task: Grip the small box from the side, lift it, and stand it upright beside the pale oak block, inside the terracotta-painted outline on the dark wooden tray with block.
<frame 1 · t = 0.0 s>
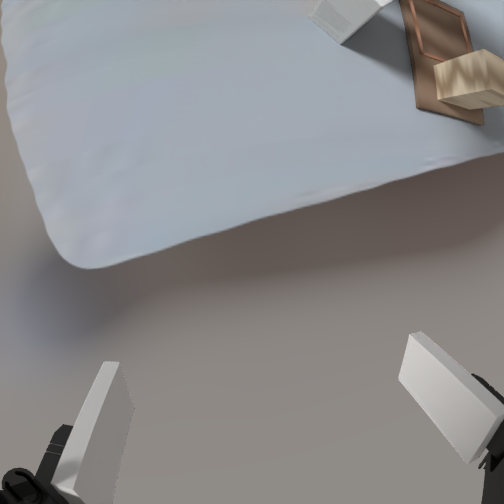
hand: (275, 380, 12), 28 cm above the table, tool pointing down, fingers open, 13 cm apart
small box: (338, 18, 33), on the table
wooden tray with block: (443, 52, 35), on the table
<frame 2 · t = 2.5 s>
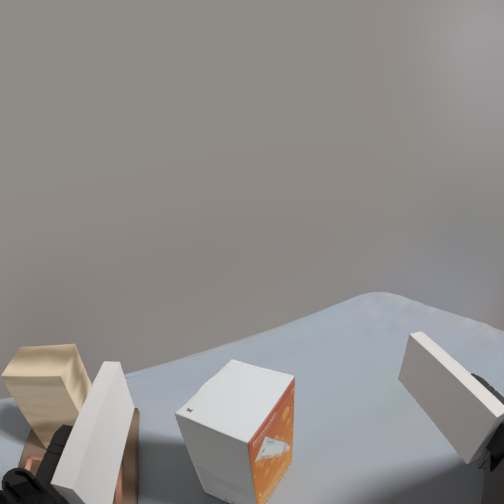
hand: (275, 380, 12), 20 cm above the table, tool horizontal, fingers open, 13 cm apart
small box: (250, 478, 25), on the table
wooden tray with block: (73, 482, 22), on the table
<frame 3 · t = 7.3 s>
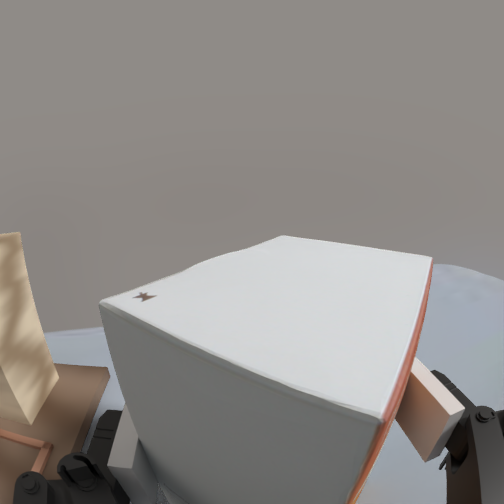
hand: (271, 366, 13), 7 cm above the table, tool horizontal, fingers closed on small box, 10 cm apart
when the fingers open (9 cm above the table, at t = 13.4 s): small box stays where it is, resting on wooden tray with block.
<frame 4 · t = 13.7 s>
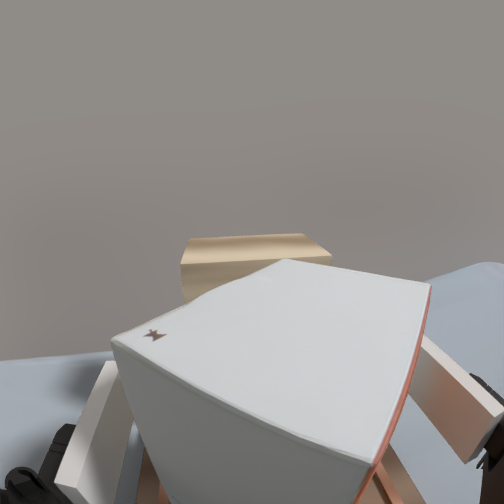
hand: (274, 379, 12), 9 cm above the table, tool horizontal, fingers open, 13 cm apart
wooden tray with block: (270, 475, 15), on the table
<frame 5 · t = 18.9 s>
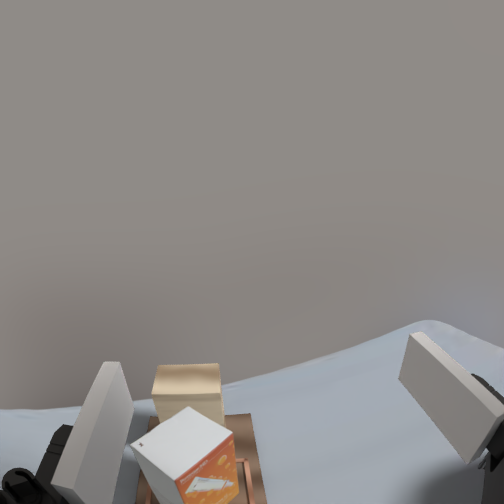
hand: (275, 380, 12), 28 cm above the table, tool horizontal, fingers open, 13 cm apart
small box: (200, 500, 27), point 1 cm above the table, touching wooden tray with block
wooden tray with block: (200, 479, 31), on the table
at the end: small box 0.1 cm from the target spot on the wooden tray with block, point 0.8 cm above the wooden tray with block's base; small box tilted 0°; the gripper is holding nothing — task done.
